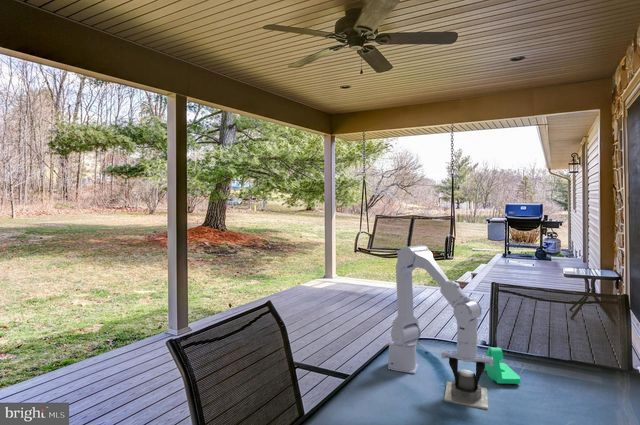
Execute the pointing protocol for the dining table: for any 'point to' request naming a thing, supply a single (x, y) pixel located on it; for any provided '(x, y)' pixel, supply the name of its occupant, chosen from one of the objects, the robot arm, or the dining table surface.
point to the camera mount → (500, 368)
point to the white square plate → (466, 396)
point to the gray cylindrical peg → (466, 380)
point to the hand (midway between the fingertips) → (466, 384)
